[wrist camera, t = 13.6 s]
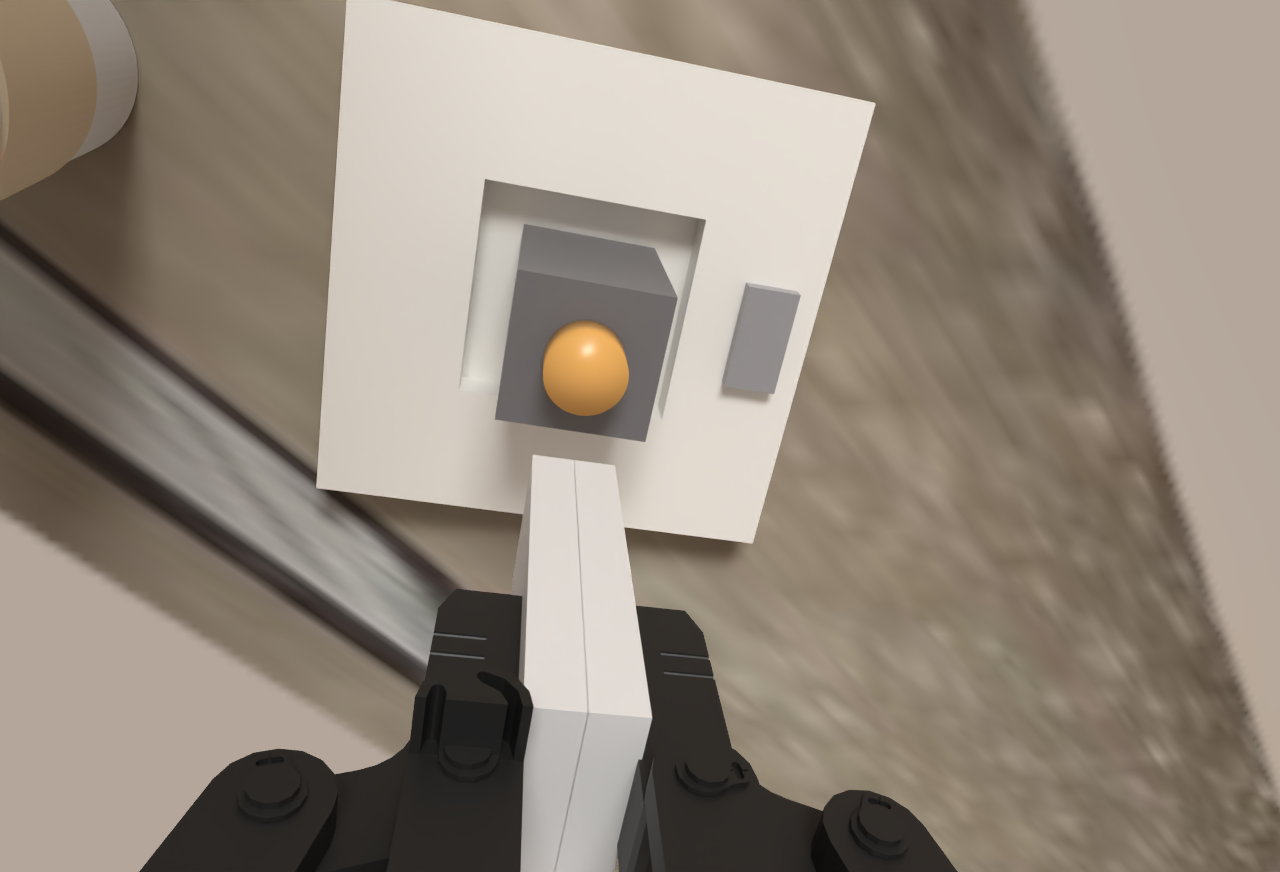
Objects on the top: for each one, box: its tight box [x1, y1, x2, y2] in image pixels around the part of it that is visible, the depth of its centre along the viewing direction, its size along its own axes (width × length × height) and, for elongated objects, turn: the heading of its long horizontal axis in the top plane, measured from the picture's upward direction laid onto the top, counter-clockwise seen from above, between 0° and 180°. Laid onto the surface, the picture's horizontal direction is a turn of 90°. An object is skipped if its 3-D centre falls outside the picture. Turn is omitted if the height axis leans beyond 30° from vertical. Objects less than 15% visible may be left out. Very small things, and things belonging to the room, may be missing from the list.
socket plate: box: [316, 0, 876, 543], centre depth 35 cm, size 18×18×3 cm
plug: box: [495, 224, 678, 442], centre depth 31 cm, size 5×5×8 cm
